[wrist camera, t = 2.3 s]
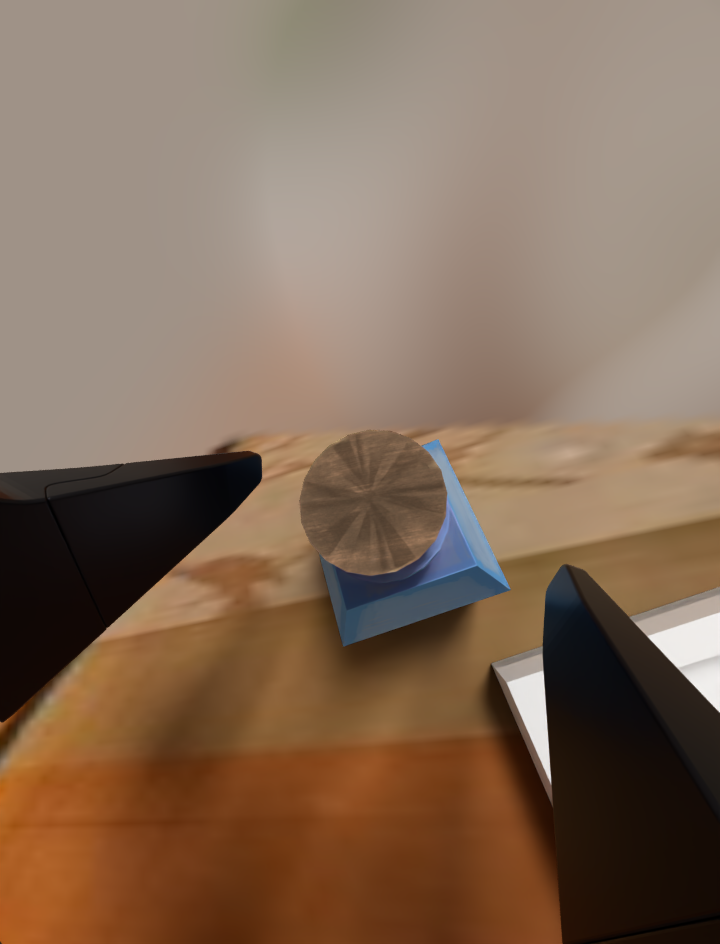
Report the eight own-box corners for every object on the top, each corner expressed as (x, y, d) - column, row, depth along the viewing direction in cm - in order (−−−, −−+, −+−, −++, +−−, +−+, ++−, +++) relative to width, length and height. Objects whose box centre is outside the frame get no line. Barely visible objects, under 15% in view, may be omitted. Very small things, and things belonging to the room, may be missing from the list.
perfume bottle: (371, 623, 17) (264, 712, 5) (339, 517, 19) (219, 429, 8) (479, 586, 16) (603, 599, 5) (433, 482, 18) (448, 337, 7)
